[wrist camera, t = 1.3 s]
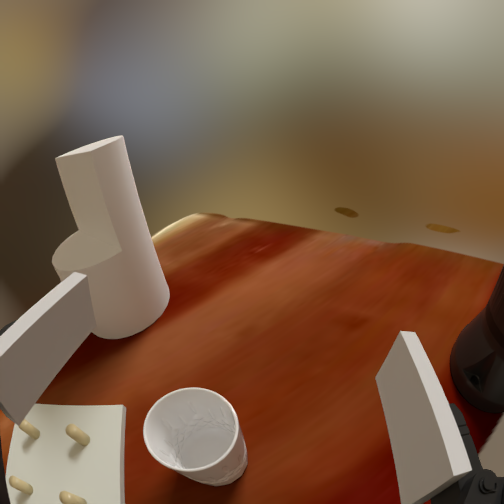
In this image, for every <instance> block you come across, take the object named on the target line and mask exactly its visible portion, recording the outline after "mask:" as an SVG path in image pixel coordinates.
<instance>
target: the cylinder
mask: <svg viewBox="0 0 504 504" xmlns="http://www.w3.org/2000/svg"><path fill="white" fill-rule="evenodd" d="M55 160H56V163H57V167H58V170H59V173H60V177H61V180H62V183H63V187H64V189H65V193H66V196H67V199H68V202H69V204H70V207H71V210H72V213H73V215H74V218H75V221H76V224H77V226H78V228H79V230H78V231H77V232H75V233H74V234H73V235H71V236H70V237H68V238H67V239H66V240H65V241H64V242H63V243H62V244H61V245H60V246H59V247H58V249H57V250H56V251H55V253H54V255H53V258H52V263H53V266H54V267H55V270H56V271H57V273H58V275H59V277H60V279H61V281H64V280H65V279H66V278H67V277H69V276H70V275H71V274H72V273H74V272H77V273H81V274H84V275H87V277H88V283H89V289H90V295H91V301H92V306H93V311H94V316H95V320H96V325H97V326H96V327H95V328H94V329H93V331H92V333H94V334H95V335H96V336H98V337H101V338H105V339H120V338H124V337H128V336H132V335H134V334H136V333H138V332H140V331H143V330H144V329H145V328H147V327H148V326H150V325H151V324H153V323H154V322H155V321H156V320H157V319H158V318H159V317H160V316H161V315H162V313H163V312H164V310H165V308H166V307H167V305H168V301H169V297H170V295H169V288H168V285H167V283H166V280H165V277H164V274H163V271H162V269H161V266H160V263H159V260H158V257H157V254H156V251H155V248H154V245H153V242H152V239H151V236H150V233H149V230H148V226H147V223H146V220H145V217H144V213H143V210H142V207H141V203H140V200H139V196H138V193H137V189H136V185H135V182H134V178H133V174H132V170H131V166H130V162H129V158H128V154H127V150H126V146H125V141H124V137H123V136H116V137H112V138H108V139H104V140H101V141H98V142H95V143H92V144H89V145H86V146H84V147H81V148H78V149H76V150H73V151H71V152H69V153H66V154H64V155H61V156H59V157H57V158H55Z"/></svg>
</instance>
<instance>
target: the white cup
mask: <svg viewBox="0 0 504 504" xmlns="http://www.w3.org/2000/svg"><path fill="white" fill-rule="evenodd" d="M143 434H144V440H145V444H146V446H147V448H148V450H149V452H150V453H151V454H152V456H153V457H154V458H155V459H156V460H157V461H159V462H160V463H161V464H163V465H165V466H166V467H168V468H170V469H172V470H174V471H176V472H178V473H180V474H181V475H183V476H185V477H188V478H190V479H192V480H195V481H197V482H200V483H203V484H207V485H212V486H221V485H226V484H231V483H232V482H233V481H235V480H236V479H238V478H239V477H240V476H242V474H243V472H244V470H245V468H246V466H247V464H248V462H247V450H246V445H245V442H244V437H243V434H242V431H241V428H240V425H239V422H238V418H237V415H236V413H235V411H234V409H233V407H232V406H231V404H230V403H229V402H228V401H227V400H226V399H225V398H224V397H222V396H221V395H219V394H217V393H216V392H213V391H211V390H207V389H203V388H184V389H179V390H176V391H173V392H171V393H169V394H167V395H165V396H164V397H162V398H161V399H160V400H158V401H157V402H156V403H155V404H154V405H153V407H152V408H151V409H150V411H149V412H148V414H147V416H146V419H145V422H144V428H143Z"/></svg>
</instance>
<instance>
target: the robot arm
mask: <svg viewBox="0 0 504 504" xmlns="http://www.w3.org/2000/svg"><path fill="white" fill-rule="evenodd" d="M96 326H97V325H96V320H95V316H94V311H93V306H92V301H91V295H90V289H89V283H88V277H87V275H84V274H81V273H77V272H74V273H72V274H71V275H70V276H69V277H67V278H66V279H65V280H64V281H62V282H61V283H60V284H59V285H57V286H56V287H55V288H54V289H53V290H51V291H50V292H49V293H48V294H47V295H46V296H44V297H43V298H42V299H41V300H40V301H39V302H37V303H36V304H35V305H34V306H33V307H32V308H30V309H29V310H28V311H27V312H26V313H25V314H24V315H23V316H22V317H20V318H19V319H18V320H17V321H14V322H12V323H10V324H8V325H6V326H5V327H3V329H1V330H0V409H1V410H2V411H3V413H4V414H5V415H6V417H8V418H9V419H10V420H12V421H13V422H14V423H15V424H17V425H18V426H19V425H20V424H21V423H22V421H23V420H24V418H25V417H26V415H27V414H28V413H29V411H30V410H31V408H32V407H33V406H34V404H35V403H36V401H37V400H38V399H39V397H40V396H41V395H42V393H43V392H44V391H45V389H46V388H47V387H48V385H49V384H50V383H51V381H52V380H53V379H54V377H55V376H56V375H57V374H58V372H59V371H60V370H61V368H62V367H63V366H64V365H65V363H66V362H67V361H68V360H69V358H70V357H71V356H72V355H73V353H74V352H75V351H76V350H77V349H78V347H79V346H80V345H81V344H82V342H83V341H84V340H85V339H86V338H87V336H88V335H89V334H90V333H91V332H92V331H93V329H94V328H95V327H96ZM450 368H451V374H452V377H453V380H454V383H455V385H456V387H457V388H458V390H459V392H460V393H461V394H462V396H463V397H464V398H465V399H466V400H467V401H468V402H469V403H470V404H472V405H473V406H475V407H476V408H478V409H480V410H482V411H485V412H490V413H501V412H504V266H503V268H502V271H501V274H500V276H499V278H498V281H497V283H496V286H495V288H494V290H493V292H492V295H491V297H490V299H489V301H488V304H487V306H486V307H485V308H484V309H483V310H482V311H481V312H480V313H479V314H478V315H477V316H476V317H475V318H474V319H473V320H472V321H471V322H470V323H469V324H468V325H467V326H466V327H465V328H464V329H463V330H462V331H461V333H460V334H459V336H458V338H457V340H456V342H455V344H454V346H453V348H452V351H451V356H450ZM375 378H376V382H377V386H378V390H379V393H380V397H381V401H382V405H383V410H384V414H385V418H386V422H387V427H388V431H389V436H390V441H391V446H392V451H393V456H394V461H395V467H396V472H397V478H398V484H399V491H400V498H401V504H422V503H424V502H426V501H428V500H429V499H431V504H504V477H497V476H496V475H495V473H493V472H492V471H491V470H487V469H484V470H483V468H482V466H481V463H480V460H479V457H478V454H477V451H476V448H475V445H474V443H473V440H472V437H471V435H469V433H470V432H469V429H468V427H467V426H466V422H465V419H464V417H463V414H462V412H461V411H460V410H459V409H458V408H457V406H456V405H455V404H454V403H453V404H448V401H447V399H446V397H445V394H444V392H443V390H442V387H441V385H440V383H439V380H438V378H437V376H436V374H435V372H434V370H433V367H432V365H431V363H430V361H429V359H428V357H427V355H426V353H425V351H424V349H423V347H422V345H421V343H420V341H419V339H418V337H417V335H416V333H415V332H406V331H400V332H399V334H398V336H397V338H396V340H395V342H394V344H393V346H392V348H391V350H390V352H389V354H388V356H387V358H386V359H385V361H384V363H383V365H382V367H381V368H380V370H379V372H378V374H377V375H376V377H375ZM0 504H11V503H10V498H9V494H8V489H7V484H6V479H5V473H4V466H3V458H2V449H1V438H0Z"/></svg>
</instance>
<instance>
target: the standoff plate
mask: <svg viewBox="0 0 504 504" xmlns="http://www.w3.org/2000/svg"><path fill="white" fill-rule="evenodd" d="M125 419H126V408H125V407H124V406H123V405H102V406H73V405H48V404H34V406H33V407H32V408H31V410H30V411H29V413H28V414H27V415H26V417H25V418H24V420H23V421H22V423H21V424H20V425H19V426H18V425H17V424H15V426H14V430H13V435H12V440H11V445H10V450H9V456H8V463H7V470H6V478H5V479H6V484H7V489H8V494H9V498H10V503H11V504H125V495H124V440H125Z"/></svg>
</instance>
